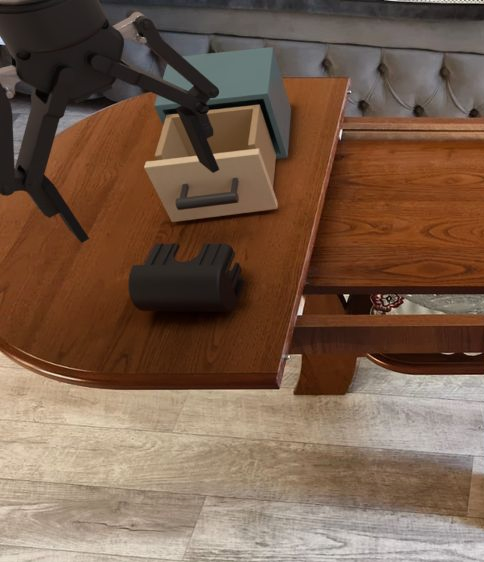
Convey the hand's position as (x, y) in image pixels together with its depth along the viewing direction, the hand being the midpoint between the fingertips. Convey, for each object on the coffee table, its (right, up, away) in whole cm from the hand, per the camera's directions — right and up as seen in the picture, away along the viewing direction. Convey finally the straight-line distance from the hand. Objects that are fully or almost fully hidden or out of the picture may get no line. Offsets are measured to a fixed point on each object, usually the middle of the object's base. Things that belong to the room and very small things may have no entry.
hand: (147, 198), depth 67 cm
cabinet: (-4, +13, +35) cm, 37 cm away
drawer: (-2, +3, +24) cm, 24 cm away
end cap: (0, -11, +13) cm, 17 cm away
